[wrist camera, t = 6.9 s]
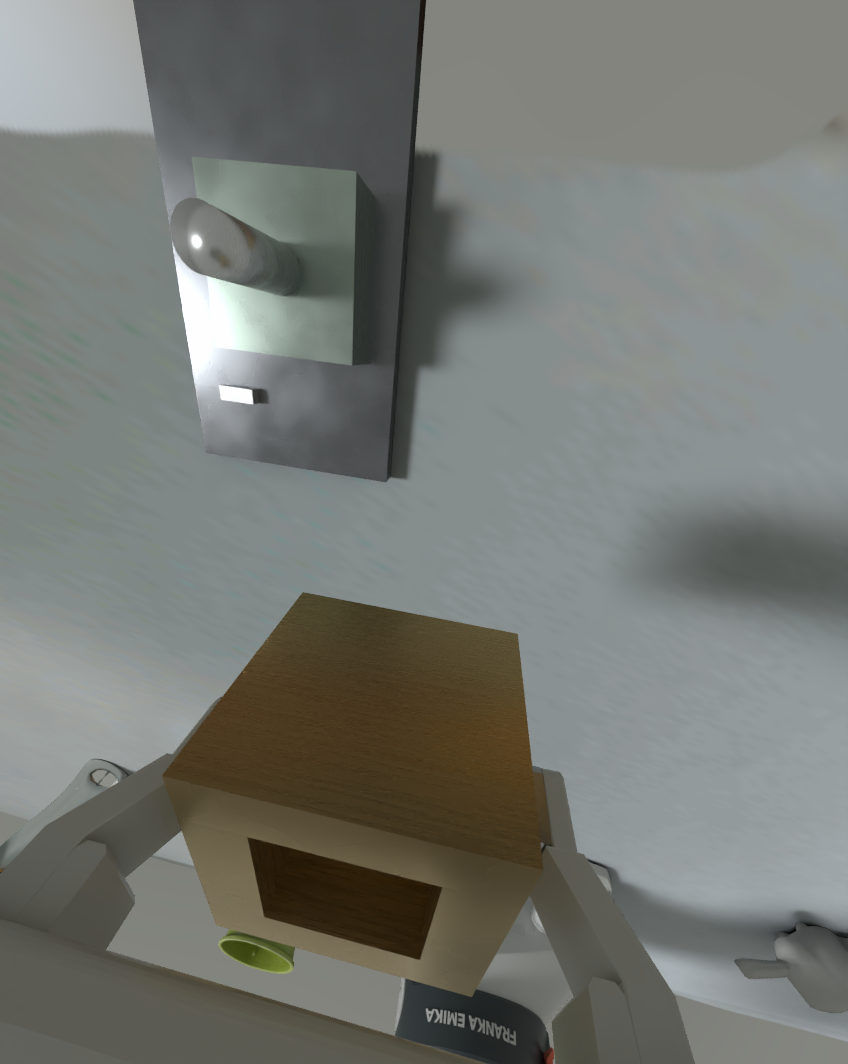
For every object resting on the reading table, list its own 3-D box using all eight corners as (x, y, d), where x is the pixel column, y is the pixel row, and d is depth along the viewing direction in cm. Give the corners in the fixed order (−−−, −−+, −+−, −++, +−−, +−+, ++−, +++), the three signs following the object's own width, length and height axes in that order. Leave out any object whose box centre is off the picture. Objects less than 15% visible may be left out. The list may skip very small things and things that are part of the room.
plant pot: (335, 881, 51) (308, 975, 43) (287, 886, 54) (254, 974, 46) (293, 845, 48) (256, 938, 40) (245, 852, 51) (202, 940, 44)
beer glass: (143, 781, 47) (6, 951, 33) (121, 795, 49) (-14, 958, 36) (96, 750, 45) (-69, 916, 32) (75, 766, 48) (-83, 926, 34)
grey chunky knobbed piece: (879, 1028, 37) (746, 1009, 36) (831, 953, 42) (712, 935, 41) (964, 1004, 33) (816, 982, 32) (900, 923, 37) (769, 902, 36)
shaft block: (426, -7, 14) (359, -403, 7) (390, 477, 23) (343, 536, 16) (147, -19, 15) (-179, -375, 8) (215, 449, 24) (95, 491, 17)
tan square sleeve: (517, 633, 10) (543, 870, 5) (477, 767, 12) (471, 997, 8) (302, 592, 10) (161, 775, 6) (309, 729, 13) (216, 924, 9)
